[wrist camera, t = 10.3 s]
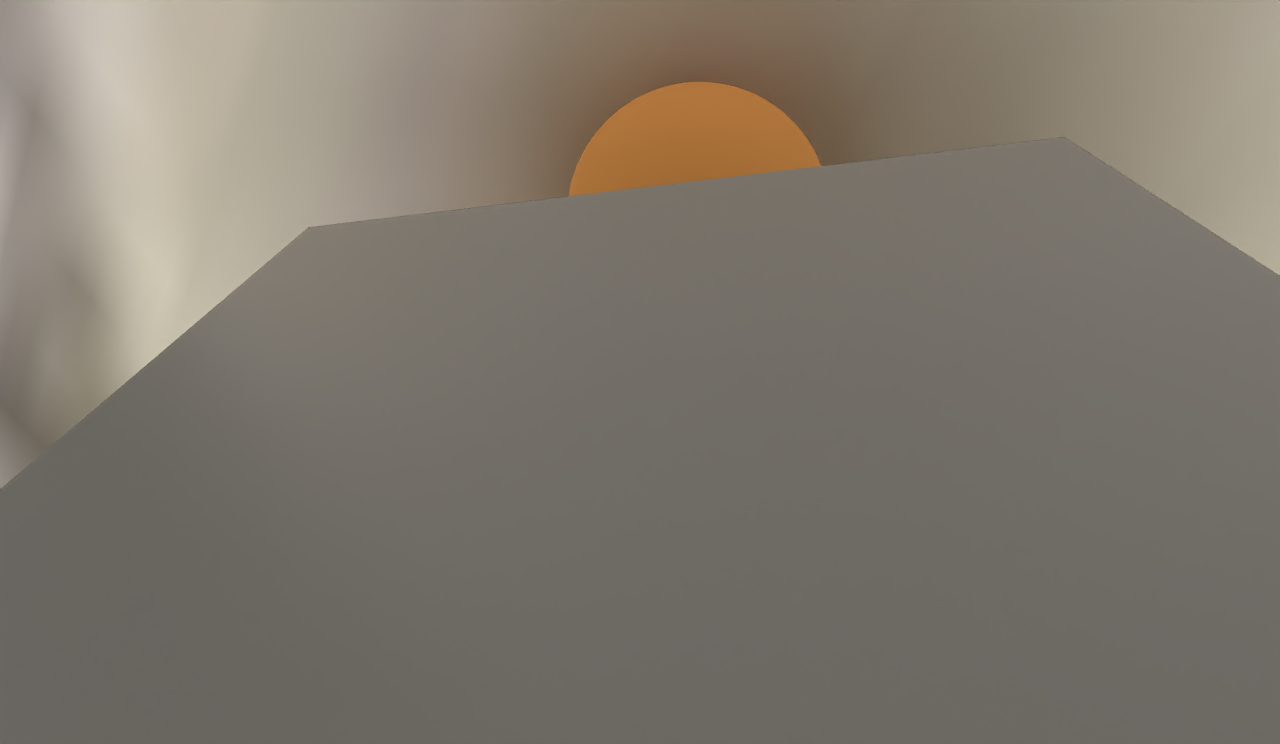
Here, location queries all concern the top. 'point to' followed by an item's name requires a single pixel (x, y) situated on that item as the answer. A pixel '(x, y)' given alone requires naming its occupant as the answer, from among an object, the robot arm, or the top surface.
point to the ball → (690, 140)
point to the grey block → (684, 479)
